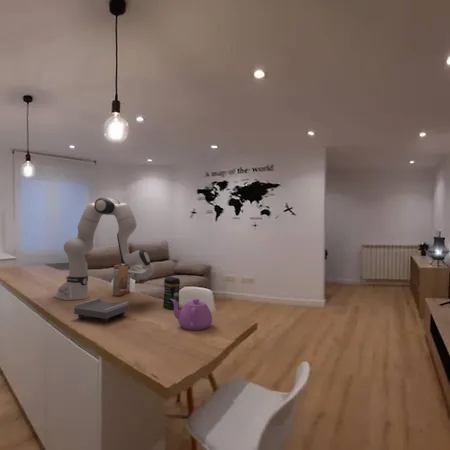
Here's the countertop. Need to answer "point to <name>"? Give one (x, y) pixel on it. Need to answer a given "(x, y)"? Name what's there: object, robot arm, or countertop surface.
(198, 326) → the teakettle
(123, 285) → the canister
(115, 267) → the cracker box
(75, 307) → the grey rimmed tray
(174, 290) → the coffee jar
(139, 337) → the countertop surface
